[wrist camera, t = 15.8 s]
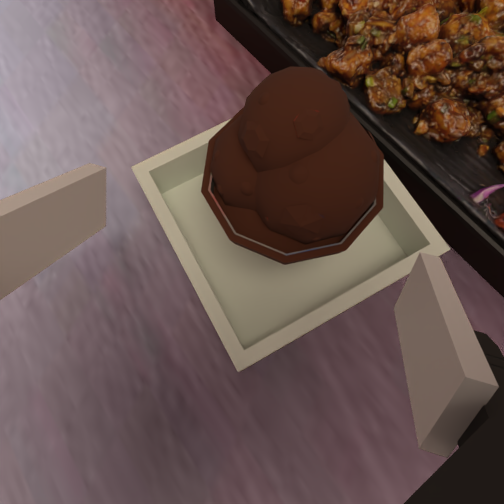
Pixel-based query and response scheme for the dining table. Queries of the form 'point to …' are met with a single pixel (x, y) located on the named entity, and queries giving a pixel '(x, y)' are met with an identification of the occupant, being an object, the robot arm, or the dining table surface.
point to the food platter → (408, 96)
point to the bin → (269, 271)
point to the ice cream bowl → (294, 170)
